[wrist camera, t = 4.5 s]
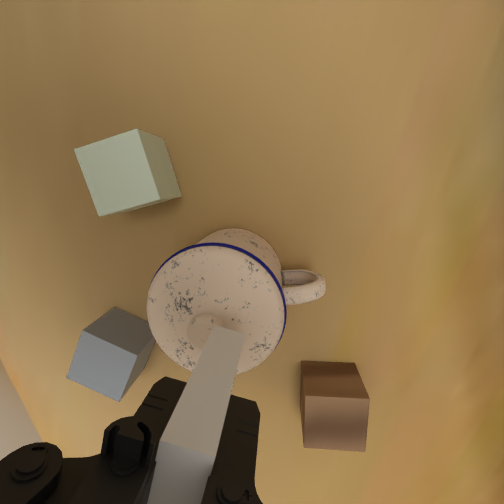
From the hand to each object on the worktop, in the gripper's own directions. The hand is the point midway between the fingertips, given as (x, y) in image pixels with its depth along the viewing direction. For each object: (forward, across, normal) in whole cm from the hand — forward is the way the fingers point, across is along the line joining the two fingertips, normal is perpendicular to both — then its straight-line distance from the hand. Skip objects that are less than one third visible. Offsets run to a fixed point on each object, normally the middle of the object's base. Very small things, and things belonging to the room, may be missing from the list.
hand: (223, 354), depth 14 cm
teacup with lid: (+14, 0, 0) cm, 14 cm away
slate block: (+14, -10, -10) cm, 20 cm away
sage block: (+14, -11, +6) cm, 19 cm away
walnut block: (+14, +10, -9) cm, 19 cm away
